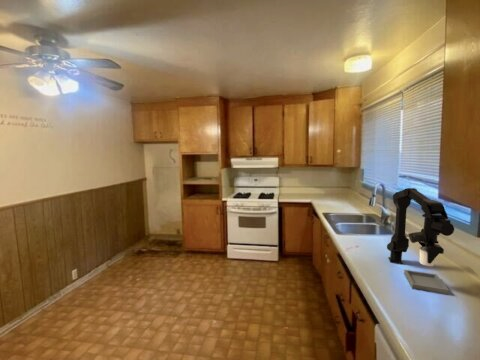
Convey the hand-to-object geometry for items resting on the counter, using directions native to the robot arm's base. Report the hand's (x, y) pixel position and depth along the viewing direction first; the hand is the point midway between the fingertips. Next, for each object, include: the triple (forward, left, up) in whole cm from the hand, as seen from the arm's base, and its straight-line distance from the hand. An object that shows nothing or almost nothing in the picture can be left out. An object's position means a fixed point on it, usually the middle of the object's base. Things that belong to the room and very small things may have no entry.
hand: (427, 260), depth 130 cm
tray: (0, 0, -12) cm, 12 cm away
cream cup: (0, 0, -2) cm, 2 cm away
